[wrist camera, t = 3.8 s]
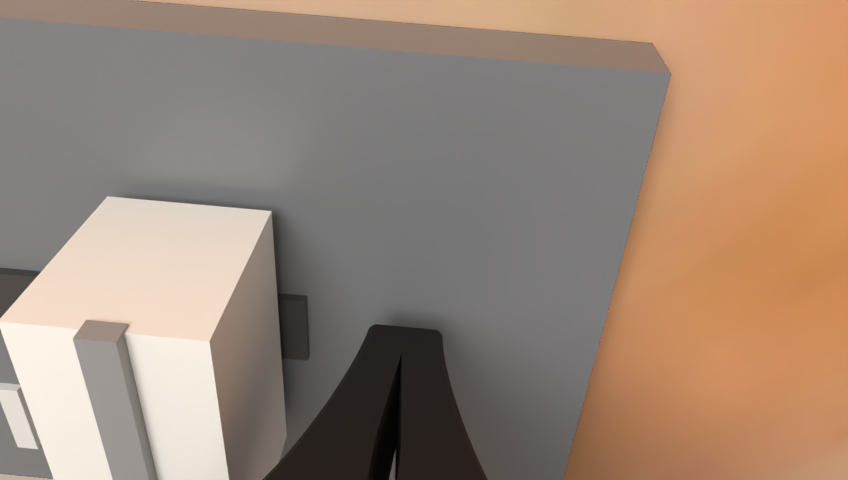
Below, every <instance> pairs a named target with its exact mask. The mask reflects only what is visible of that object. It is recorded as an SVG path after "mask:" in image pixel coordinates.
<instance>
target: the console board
mask: <svg viewBox="0 0 848 480" xmlns="http://www.w3.org/2000/svg"><path fill="white" fill-rule="evenodd" d="M670 77H671V72H670V71H669V69H668V68H667V66H666V64H665V63H664V61H663V59H662V58H661V56H660V55H659V53H658V51H657V50H656V48H655V47H654V45H653V43H642V42H630V41H618V40H606V39H594V38H582V37H569V36H557V35H545V34H533V33H521V32H509V31H497V30H485V29H473V28H461V27H449V26H437V25H425V24H413V23H401V22H388V21H376V20H364V19H352V18H340V17H328V16H316V15H304V14H292V13H280V12H268V11H256V10H244V9H232V8H219V7H207V6H195V5H183V4H171V3H159V2H147V1H135V0H0V318H1V317H2V316H3V315H4V314H5V312H6V311H7V310H8V309H9V308H10V307H11V306H12V304H13V303H14V302H15V301H16V300H17V299H18V298H19V297H20V295H21V294H22V293H23V292H24V291H25V290H26V289H27V287H28V286H29V285H30V284H31V283H32V282H33V281H34V279H35V278H36V277H37V276H38V275H39V274H40V273H41V271H42V270H43V269H44V268H45V267H46V266H47V265H48V263H49V262H50V261H51V260H52V259H53V258H54V257H55V256H56V254H57V253H58V252H59V251H60V250H61V249H62V248H63V246H64V245H65V244H66V243H67V242H68V241H69V240H70V238H71V237H72V236H73V235H74V234H75V233H76V232H77V230H78V229H79V228H80V227H81V226H82V225H83V224H84V222H85V221H86V220H87V219H88V218H89V217H90V216H91V215H92V213H93V212H94V211H95V210H96V209H97V208H98V207H99V205H100V204H101V203H102V202H103V201H104V200H105V199H106V197H107V196H109V197H120V198H131V199H143V200H154V201H165V202H176V203H187V204H199V205H210V206H221V207H232V208H243V209H255V210H266V211H272V225H273V240H274V254H275V269H276V284H277V299H278V313H279V328H280V343H281V358H282V372H283V387H284V402H285V416H286V431H287V437H286V440H285V444H284V447H283V451H282V454H281V457H280V460H281V459H282V458H283V457H284V456H285V455H286V454H287V453H288V451H289V450H290V449H291V448H292V447H293V446H294V444H295V443H296V442H297V441H298V440H299V438H300V437H301V436H302V435H303V433H304V432H305V431H306V430H307V428H308V427H309V426H310V424H311V423H312V422H313V420H314V419H315V418H316V416H317V415H318V414H319V412H320V411H321V410H322V408H323V407H324V406H325V404H326V403H327V401H328V400H329V398H330V397H331V395H332V394H333V392H334V391H335V389H336V388H337V386H338V385H339V383H340V382H341V380H342V379H343V377H344V376H345V374H346V372H347V371H348V369H349V367H350V366H351V364H352V362H353V360H354V359H355V357H356V355H357V353H358V351H359V349H360V347H361V345H362V343H363V341H364V339H365V337H366V334H367V332H368V329H369V328H370V327H371V326H373V325H374V324H380V325H391V326H402V327H412V328H423V329H433V330H438V331H439V332H440V333H441V334H442V335H443V350H444V357H445V362H446V367H447V371H448V375H449V379H450V383H451V387H452V390H453V394H454V397H455V400H456V403H457V406H458V409H459V412H460V415H461V418H462V421H463V423H464V426H465V429H466V431H467V434H468V436H469V439H470V441H471V444H472V446H473V449H474V451H475V453H476V456H477V458H478V460H479V462H480V465H481V467H482V469H483V471H484V473H485V475H486V477H487V479H488V480H563V478H564V474H565V470H566V466H567V463H568V459H569V455H570V451H571V448H572V444H573V440H574V436H575V433H576V429H577V425H578V421H579V418H580V414H581V410H582V406H583V403H584V399H585V395H586V392H587V388H588V384H589V380H590V377H591V373H592V369H593V365H594V362H595V358H596V354H597V350H598V347H599V343H600V339H601V335H602V332H603V328H604V324H605V320H606V317H607V313H608V309H609V305H610V302H611V298H612V294H613V290H614V287H615V283H616V279H617V275H618V272H619V268H620V264H621V260H622V257H623V253H624V249H625V245H626V242H627V238H628V234H629V230H630V227H631V223H632V219H633V215H634V212H635V208H636V204H637V200H638V197H639V193H640V189H641V185H642V182H643V178H644V174H645V170H646V167H647V163H648V159H649V155H650V152H651V148H652V144H653V140H654V137H655V133H656V129H657V125H658V122H659V118H660V114H661V110H662V107H663V103H664V99H665V95H666V92H667V88H668V84H669V80H670ZM395 453H396V450H395ZM279 462H280V461H279ZM0 474H8V475H18V476H28V477H39V478H48V479H54V478H53V476H52V473H51V470H50V467H49V464H48V462H47V459H46V456H45V453H44V450H43V448H42V445H41V442H40V439H39V436H38V434H37V431H36V428H35V425H34V422H33V420H32V417H31V414H30V411H29V408H28V406H27V403H26V400H25V397H24V394H23V392H22V389H21V386H20V383H19V380H18V378H17V375H16V372H15V369H14V366H13V364H12V361H11V358H10V355H9V352H8V350H7V347H6V344H5V341H4V338H3V335H2V333H1V330H0ZM389 480H395V454H394V459H393V463H392V468H391V473H390V477H389Z"/></svg>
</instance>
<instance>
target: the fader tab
mask: <svg viewBox="0 0 848 480" xmlns="http://www.w3.org/2000/svg"><path fill="white" fill-rule="evenodd" d="M0 330H1V333H2V335H3V338H4V341H5V344H6V347H7V350H8V352H9V355H10V358H11V361H12V364H13V366H14V369H15V372H16V375H17V378H18V380H19V383H20V386H21V389H22V392H23V394H24V397H25V400H26V403H27V406H28V408H29V411H30V414H31V417H32V420H33V422H34V425H35V428H36V431H37V434H38V436H39V439H40V442H41V445H42V448H43V450H44V453H45V456H46V459H47V462H48V464H49V467H50V470H51V473H52V476H53V478H54V480H263V478H264V477H265V476H266V475H267V474H268V473H269V472H270V471H271V470H272V469H273V468H274V467H275V466H276V465H277V464H278V463H279V461H280V457H281V454H282V451H283V447H284V444H285V440H286V437H287V431H286V416H285V402H284V387H283V372H282V358H281V343H280V328H279V313H278V299H277V284H276V269H275V254H274V240H273V225H272V211H266V210H255V209H243V208H232V207H221V206H210V205H199V204H187V203H176V202H165V201H154V200H143V199H131V198H120V197H109V196H107V197H106V199H105V200H104V201H103V202H102V203H101V204H100V205H99V207H98V208H97V209H96V210H95V211H94V212H93V213H92V215H91V216H90V217H89V218H88V219H87V220H86V221H85V222H84V224H83V225H82V226H81V227H80V228H79V229H78V230H77V232H76V233H75V234H74V235H73V236H72V237H71V238H70V240H69V241H68V242H67V243H66V244H65V245H64V246H63V248H62V249H61V250H60V251H59V252H58V253H57V254H56V256H55V257H54V258H53V259H52V260H51V261H50V262H49V263H48V265H47V266H46V267H45V268H44V269H43V270H42V271H41V273H40V274H39V275H38V276H37V277H36V278H35V279H34V281H33V282H32V283H31V284H30V285H29V286H28V287H27V289H26V290H25V291H24V292H23V293H22V294H21V295H20V297H19V298H18V299H17V300H16V301H15V302H14V303H13V304H12V306H11V307H10V308H9V309H8V310H7V311H6V312H5V314H4V315H3V316H2V317H1V318H0Z"/></svg>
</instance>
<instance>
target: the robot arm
mask: <svg viewBox="0 0 848 480" xmlns="http://www.w3.org/2000/svg"><path fill="white" fill-rule="evenodd" d="M395 450H396V453H395ZM394 454H395V480H488V479H487V477H486V475H485V473H484V471H483V469H482V467H481V465H480V462H479V460H478V458H477V456H476V453H475V451H474V449H473V446H472V444H471V441H470V439H469V436H468V434H467V431H466V429H465V426H464V423H463V421H462V418H461V415H460V412H459V409H458V406H457V403H456V400H455V397H454V394H453V390H452V387H451V383H450V379H449V375H448V371H447V367H446V362H445V357H444V350H443V335H442V334H441V333H440V332H439V331H438V330H433V329H423V328H412V327H402V326H391V325H380V324H374V325H373V326H371V327H370V328H369V329H368V332H367V334H366V337H365V339H364V341H363V343H362V345H361V347H360V349H359V351H358V353H357V355H356V357H355V359H354V360H353V362H352V364H351V366H350V367H349V369H348V371H347V372H346V374H345V376H344V377H343V379H342V380H341V382H340V383H339V385H338V386H337V388H336V389H335V391H334V392H333V394H332V395H331V397H330V398H329V400H328V401H327V403H326V404H325V406H324V407H323V408H322V410H321V411H320V412H319V414H318V415H317V416H316V418H315V419H314V420H313V422H312V423H311V424H310V426H309V427H308V428H307V430H306V431H305V432H304V433H303V435H302V436H301V437H300V438H299V440H298V441H297V442H296V443H295V444H294V446H293V447H292V448H291V449H290V450H289V451H288V453H287V454H286V455H285V456H284V457H283V458H282V459H281V460H280V462H279V463H278V464H277V465H276V466H275V467H274V468H273V469H272V470H271V471H270V472H269V473H268V474H267V475H266V476H265V477H264V478H263V480H389V477H390V473H391V468H392V463H393V459H394Z"/></svg>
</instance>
